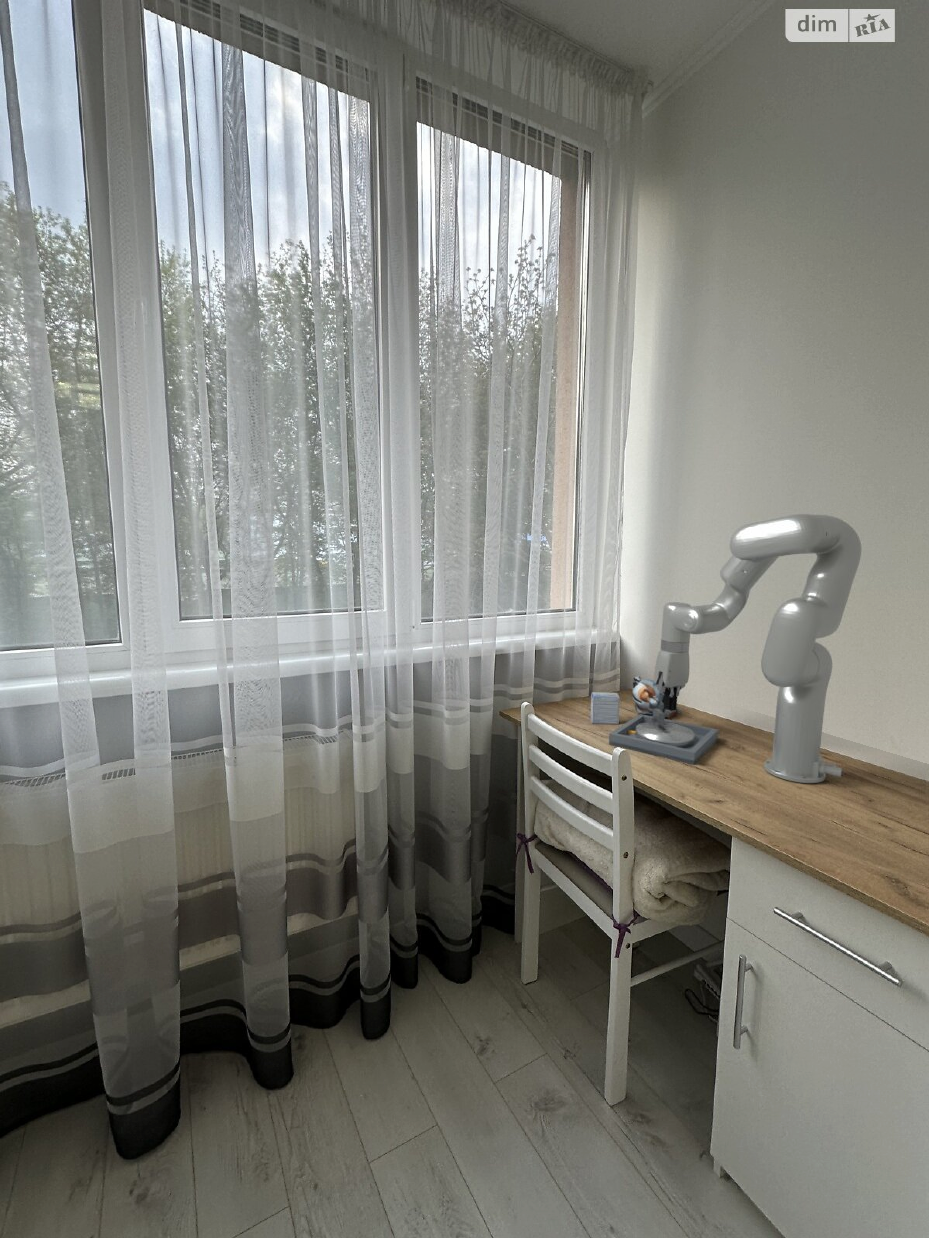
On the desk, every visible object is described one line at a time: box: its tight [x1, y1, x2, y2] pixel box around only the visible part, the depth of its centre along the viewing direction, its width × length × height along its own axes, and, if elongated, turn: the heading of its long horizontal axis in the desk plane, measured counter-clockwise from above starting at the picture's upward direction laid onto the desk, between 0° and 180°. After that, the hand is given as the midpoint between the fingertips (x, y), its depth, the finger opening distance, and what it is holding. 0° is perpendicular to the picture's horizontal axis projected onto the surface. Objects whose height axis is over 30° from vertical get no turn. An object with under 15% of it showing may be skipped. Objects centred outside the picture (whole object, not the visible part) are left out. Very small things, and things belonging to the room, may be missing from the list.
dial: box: [635, 709, 694, 748], centre depth 152 cm, size 15×15×6 cm
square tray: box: [608, 713, 719, 766], centre depth 153 cm, size 22×22×3 cm
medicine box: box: [590, 691, 621, 725], centre depth 169 cm, size 8×4×9 cm, turn 84°
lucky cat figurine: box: [631, 676, 680, 719], centre depth 177 cm, size 15×12×14 cm
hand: (669, 709), depth 161 cm, fingers closed
